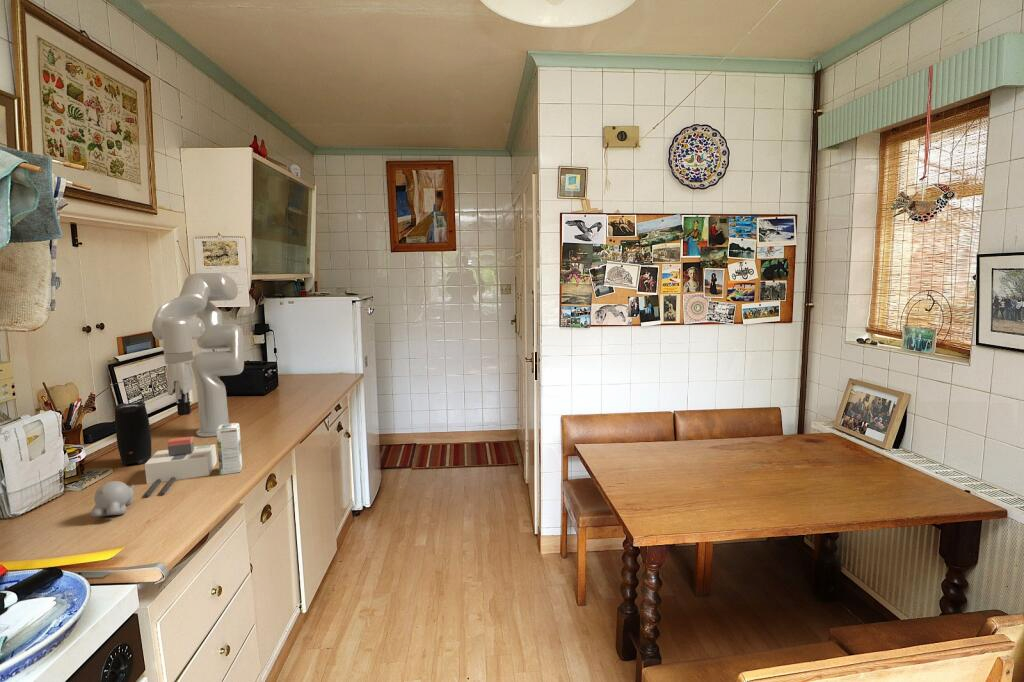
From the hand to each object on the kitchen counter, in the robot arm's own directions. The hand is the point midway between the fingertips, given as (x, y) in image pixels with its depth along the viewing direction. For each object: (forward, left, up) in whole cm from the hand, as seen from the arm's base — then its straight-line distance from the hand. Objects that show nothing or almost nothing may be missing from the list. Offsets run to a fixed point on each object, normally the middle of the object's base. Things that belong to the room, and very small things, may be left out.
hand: (184, 414), depth 160 cm
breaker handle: (+7, 0, -10) cm, 13 cm away
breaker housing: (+7, 0, -17) cm, 18 cm away
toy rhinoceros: (+31, -9, -17) cm, 37 cm away
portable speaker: (-9, -17, -17) cm, 25 cm away
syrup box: (+12, +14, -17) cm, 25 cm away
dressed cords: (+19, -3, -17) cm, 26 cm away
